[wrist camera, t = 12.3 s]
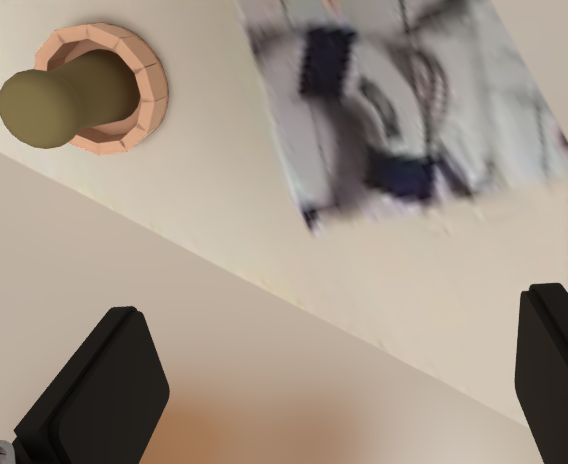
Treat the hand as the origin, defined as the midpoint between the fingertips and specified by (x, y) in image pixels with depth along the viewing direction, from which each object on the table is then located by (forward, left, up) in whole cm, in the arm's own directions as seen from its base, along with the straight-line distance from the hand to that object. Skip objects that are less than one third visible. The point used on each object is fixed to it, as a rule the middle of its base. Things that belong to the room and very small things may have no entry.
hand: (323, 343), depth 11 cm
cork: (-4, -20, -30) cm, 36 cm away
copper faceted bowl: (-4, -20, -30) cm, 37 cm away
